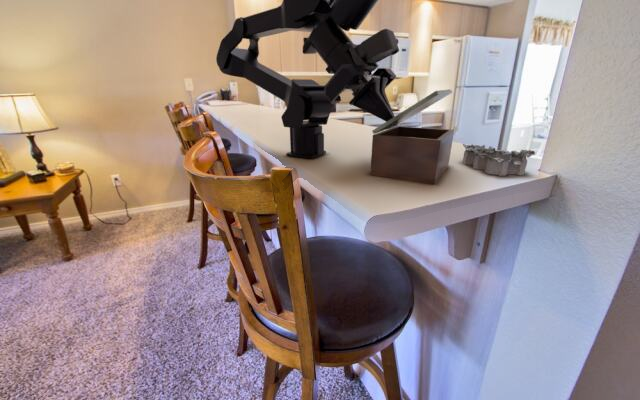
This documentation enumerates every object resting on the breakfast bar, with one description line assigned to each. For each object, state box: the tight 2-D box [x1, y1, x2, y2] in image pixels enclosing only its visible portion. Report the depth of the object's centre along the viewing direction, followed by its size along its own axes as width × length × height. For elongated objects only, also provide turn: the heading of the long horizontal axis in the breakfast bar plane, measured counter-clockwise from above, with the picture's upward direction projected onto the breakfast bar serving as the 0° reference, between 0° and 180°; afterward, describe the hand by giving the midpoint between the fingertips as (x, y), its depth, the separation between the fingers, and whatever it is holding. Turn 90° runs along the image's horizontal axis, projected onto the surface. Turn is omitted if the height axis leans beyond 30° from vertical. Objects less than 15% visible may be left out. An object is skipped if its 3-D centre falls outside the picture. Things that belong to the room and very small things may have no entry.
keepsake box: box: [369, 125, 455, 185], centre depth 51 cm, size 10×12×7 cm
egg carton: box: [461, 143, 536, 177], centre depth 52 cm, size 11×8×4 cm
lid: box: [371, 89, 453, 135], centre depth 49 cm, size 11×12×1 cm
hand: (392, 121), depth 51 cm, fingers closed, pressing on lid
